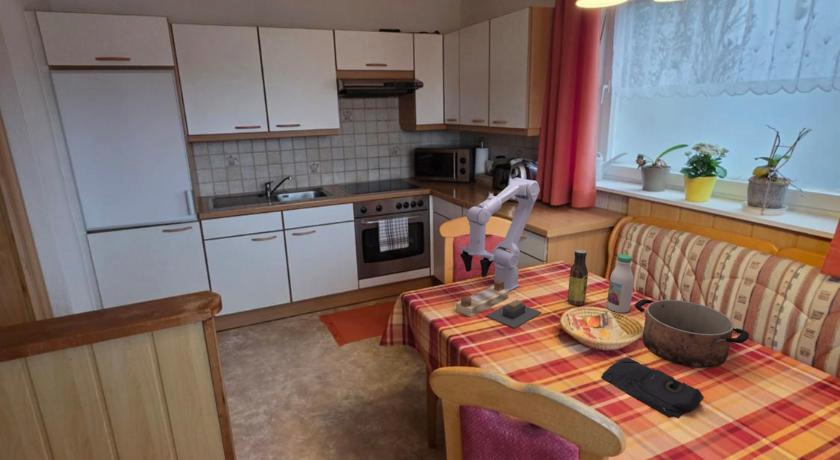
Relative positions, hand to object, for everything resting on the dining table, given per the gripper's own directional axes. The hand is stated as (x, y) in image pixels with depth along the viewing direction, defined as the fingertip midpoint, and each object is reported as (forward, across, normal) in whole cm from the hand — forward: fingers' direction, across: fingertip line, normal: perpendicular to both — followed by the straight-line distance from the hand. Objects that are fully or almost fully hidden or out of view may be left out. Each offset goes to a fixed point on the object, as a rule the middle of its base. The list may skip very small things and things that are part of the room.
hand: (476, 273), depth 170 cm
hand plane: (+9, +6, -3) cm, 12 cm away
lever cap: (+9, +19, -2) cm, 21 cm away
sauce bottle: (+10, +29, +23) cm, 38 cm away
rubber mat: (+9, +19, -2) cm, 21 cm away
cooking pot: (+10, +67, +17) cm, 70 cm away
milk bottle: (+10, +42, +29) cm, 52 cm away
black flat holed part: (+10, +68, -10) cm, 69 cm away
